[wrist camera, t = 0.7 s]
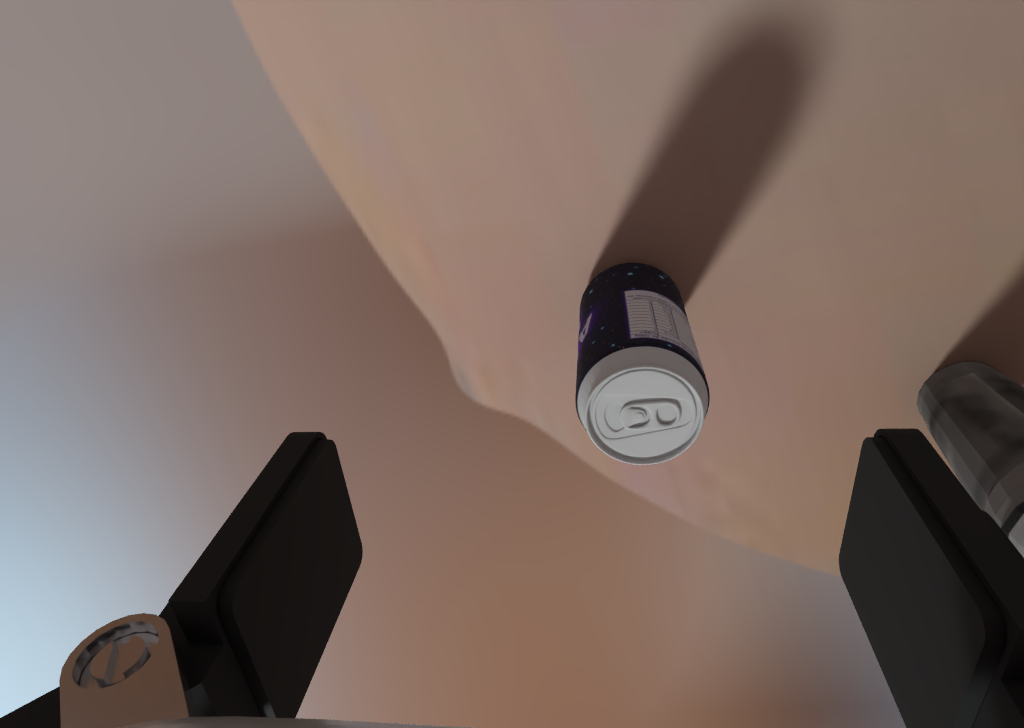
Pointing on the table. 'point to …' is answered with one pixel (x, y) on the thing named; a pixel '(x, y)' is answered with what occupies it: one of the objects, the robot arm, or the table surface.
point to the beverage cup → (981, 437)
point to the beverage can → (638, 367)
